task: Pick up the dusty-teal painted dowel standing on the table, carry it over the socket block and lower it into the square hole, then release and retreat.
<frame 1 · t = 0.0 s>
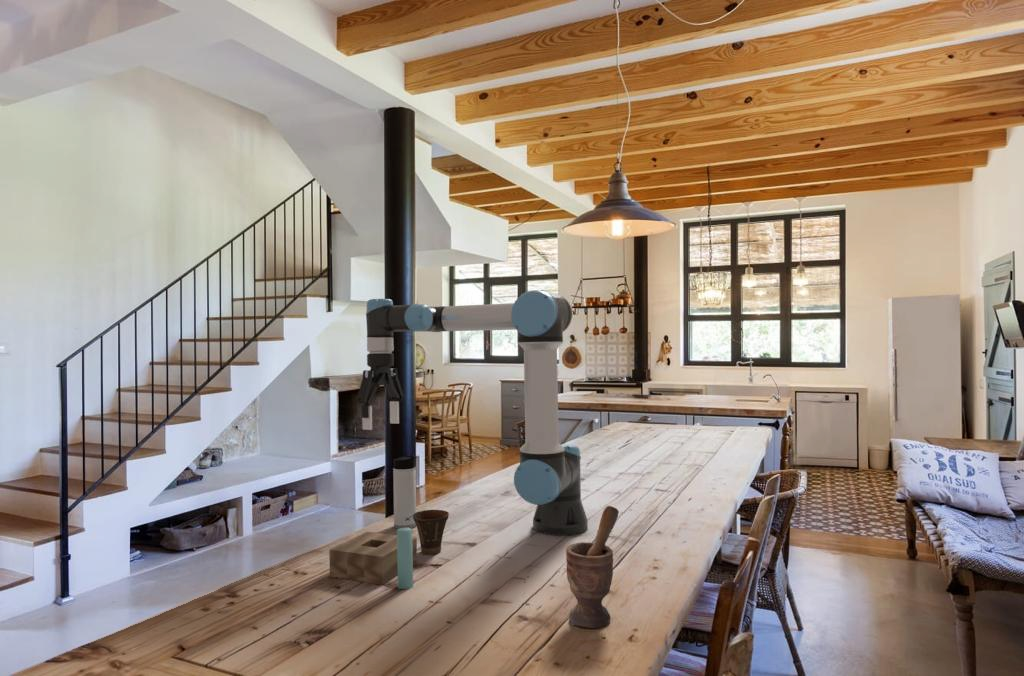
hand: (381, 426, 180), 28 cm above the table, fingers open, 13 cm apart
cup: (431, 552, 155), on the table
travel mug: (405, 527, 177), on the table
socket block: (374, 569, 143), on the table
dowel: (405, 586, 133), on the table
mortar and pestle: (593, 618, 117), on the table
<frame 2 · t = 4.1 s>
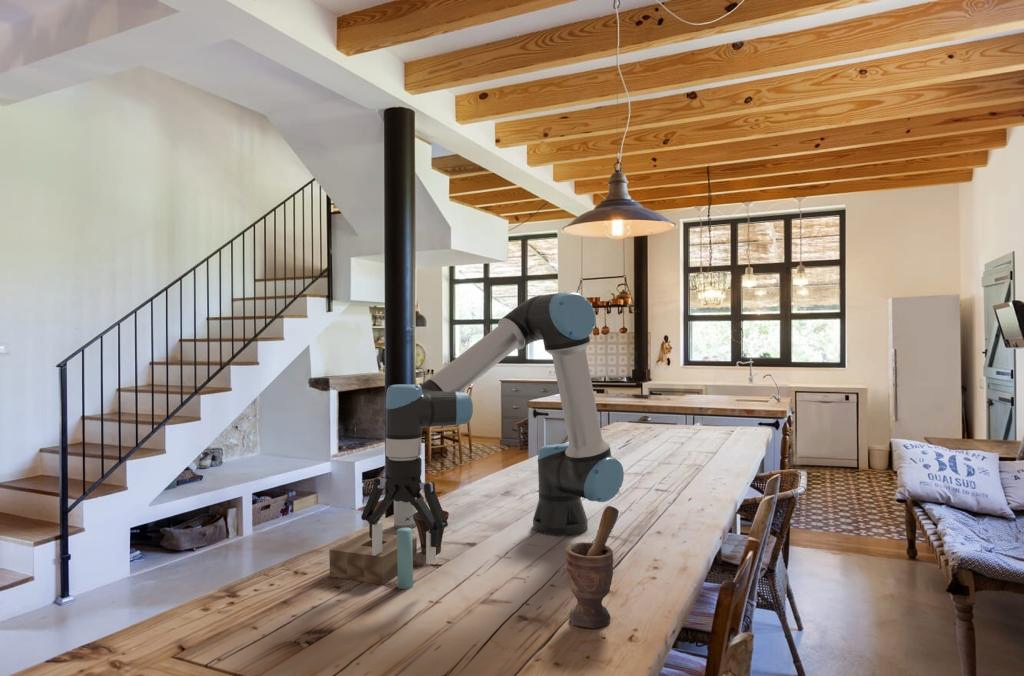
hand: (403, 557, 133), 6 cm above the table, fingers open, 13 cm apart
nothing on the table moved.
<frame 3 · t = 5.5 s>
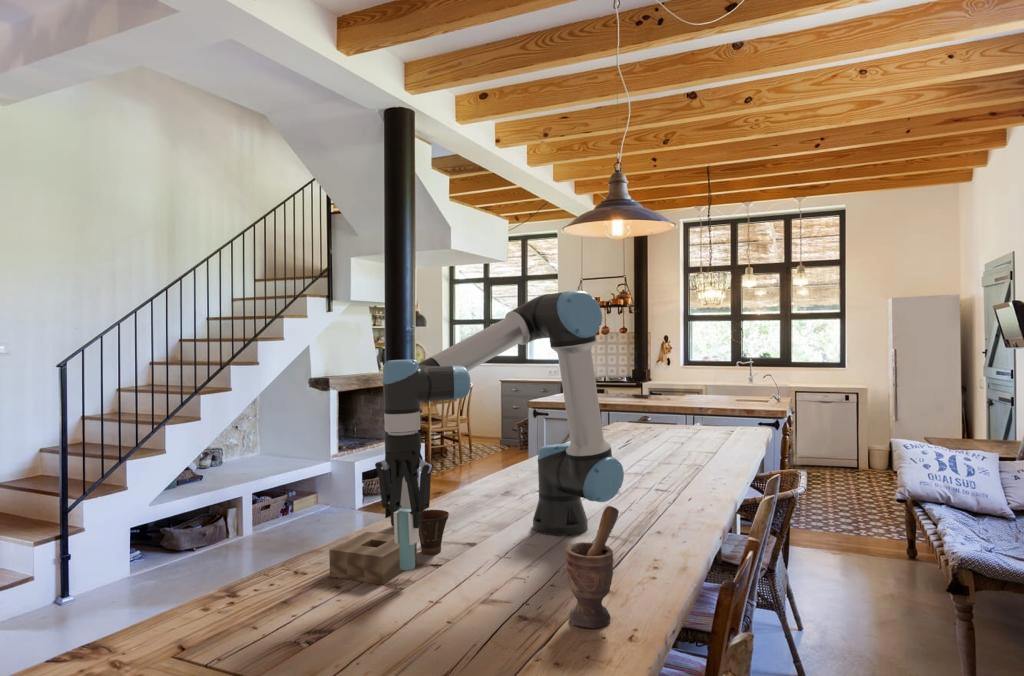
hand: (406, 541, 133), 9 cm above the table, fingers closed on dowel, 3 cm apart
dowel: (407, 567, 133), point 4 cm above the table, touching gripper
everything else where it was.
when the fingers open (7 cm above the table, at t = 9.3 s): dowel drops 2 cm, resting on socket block.
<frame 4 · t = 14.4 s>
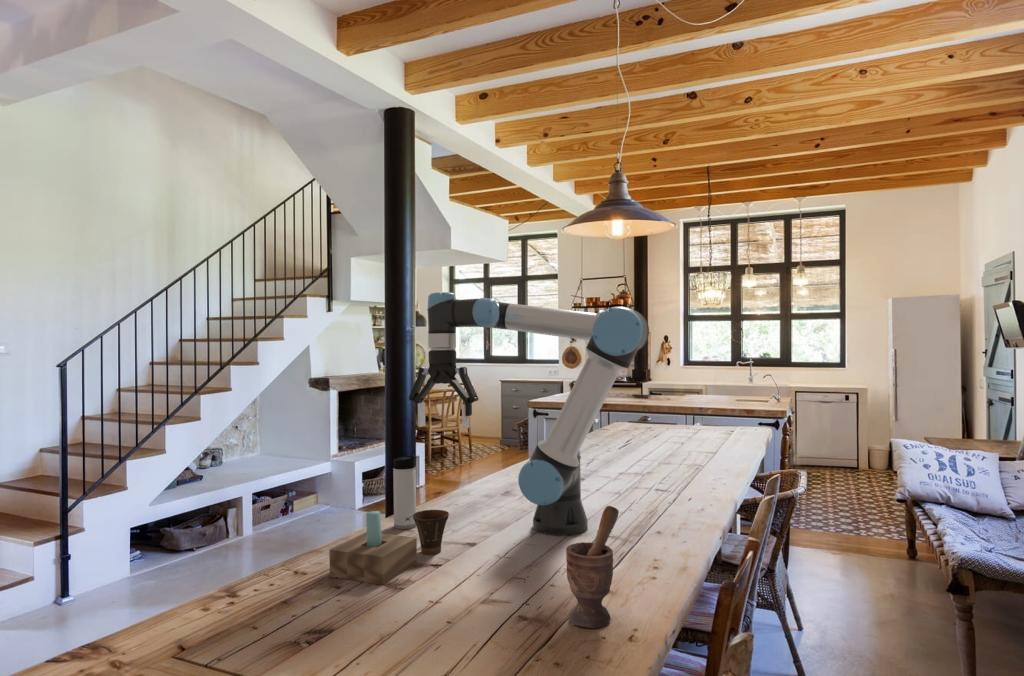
hand: (443, 427, 170), 29 cm above the table, fingers open, 13 cm apart
dowel: (374, 565, 143), point 1 cm above the table, touching socket block
everything else where it was.
at the end: dowel 0.1 cm off-centre on the socket block, point 1.0 cm above the socket block's base; dowel tilted 1°; the gripper is holding nothing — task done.
